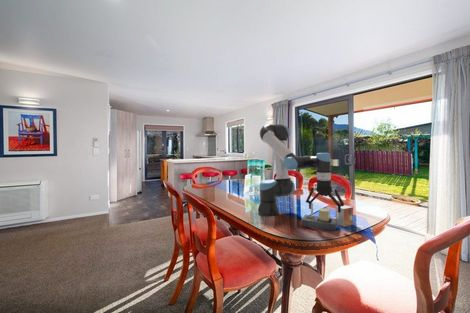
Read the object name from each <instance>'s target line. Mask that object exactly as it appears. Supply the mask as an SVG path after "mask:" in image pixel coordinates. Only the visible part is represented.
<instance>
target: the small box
mask: <svg viewBox="0 0 470 313" xmlns="http://www.w3.org/2000/svg"><path fill="white" fill-rule="evenodd" d="M338 213H339V212H338ZM335 219H337V211H336V210H335ZM353 225H354V207H353V206H350V205H349V206H348V205H346V204H344V206H341V212H340V213H339V218H338V219H337V226H340V227H344V228H345V227H349V226H353Z"/></svg>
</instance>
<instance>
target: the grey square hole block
mask: <svg viewBox="0 0 470 313" xmlns="http://www.w3.org/2000/svg"><path fill="white" fill-rule="evenodd" d="M300 222H301V224H300V225H301V227H304V228H309V229H316V230H323V231H328V232H335V233H336V230H337V228H338V225H337V219H336V218H331V217H330V223H327V222H320V221H319V215H318V216H317V215H311V214H310V215H309V214H304V215H303V217H302V218H301V221H300Z"/></svg>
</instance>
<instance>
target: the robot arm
mask: <svg viewBox="0 0 470 313" xmlns="http://www.w3.org/2000/svg"><path fill="white" fill-rule="evenodd" d="M290 132H291V131H290V128H289V127H288V126H287V125H285V124H273V123H271V124H270V123H269V124H265V125H263V126H261V128H260V130H259V137H260V139H261V140H262V142H263V143H265V144H267V145H268V146H269V147H270V148H271V149H272V150H273V152H274V163H275V172H276V176H275V178H274V179H265V180H261V181H260V183H259V205H258V209H257V214H258V213H259V214H258V215H260V216H265V217H274V216H278V215H279V214H280V208H279V206H278V203H277V198H280V197H289V196H291V195H293V194H294V193H295V189H296V185H295V183H294V181H293V180H292V179H291V177H290V176H289V171H294V170H295V171H296V170H306V169H316V179H317V180H316V187H314V186H311V189H310V192H309V194H308V196H307V198H306V200H305V203H307V204H308V209H309V210H310V215H311V216H314V203H313V202H314V201H315V200H316V199H317V198H318V197H319V196H320V197H329V198H330V199H331V200H332V201H333V203H335V205H336V206H335V212H336V211H337V219H338V218H339V213H340V212H341V206H344V205H345V202H344V201H343V199H342V198H341V196H340V194H339V192H338V188H336V187H335V188H332V180H331V179H332V169H331V166H332V164H331V163H332V157H331V153H329V152H317V153H316V155H315V156H314V155H304V156H297V155H296V154H295V153H294V152H292V151H291V149H289V148H288V147H287V146H286V143H287V142H288V139H289V138H290V135H291V133H290ZM315 191H316V192H317V193H316V194H315V195H314V196H313V197H312V195H313V193H314V192H315ZM332 192H333V193H334V194H335V196H336V197H334V195H333V194H332ZM311 197H312V198H311ZM336 198H337V199H338V200H337V199H336ZM310 199H311V200H310ZM338 212H339V213H338Z"/></svg>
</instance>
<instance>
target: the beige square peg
mask: <svg viewBox="0 0 470 313" xmlns="http://www.w3.org/2000/svg"><path fill="white" fill-rule="evenodd" d="M330 214H331V209H330V208H321V207H320V208H319V210H318V217H319V221H320V222H327V223H330V218H331V215H330Z"/></svg>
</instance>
